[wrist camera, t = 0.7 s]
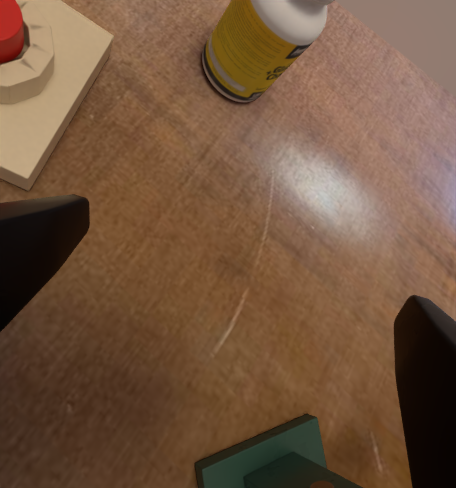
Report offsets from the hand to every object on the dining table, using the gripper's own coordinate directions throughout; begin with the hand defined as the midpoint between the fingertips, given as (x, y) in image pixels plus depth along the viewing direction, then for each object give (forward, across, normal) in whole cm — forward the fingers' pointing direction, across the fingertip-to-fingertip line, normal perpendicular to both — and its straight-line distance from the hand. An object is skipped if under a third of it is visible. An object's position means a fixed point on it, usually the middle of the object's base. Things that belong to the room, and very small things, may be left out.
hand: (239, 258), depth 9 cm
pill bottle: (+26, +6, -2) cm, 27 cm away
